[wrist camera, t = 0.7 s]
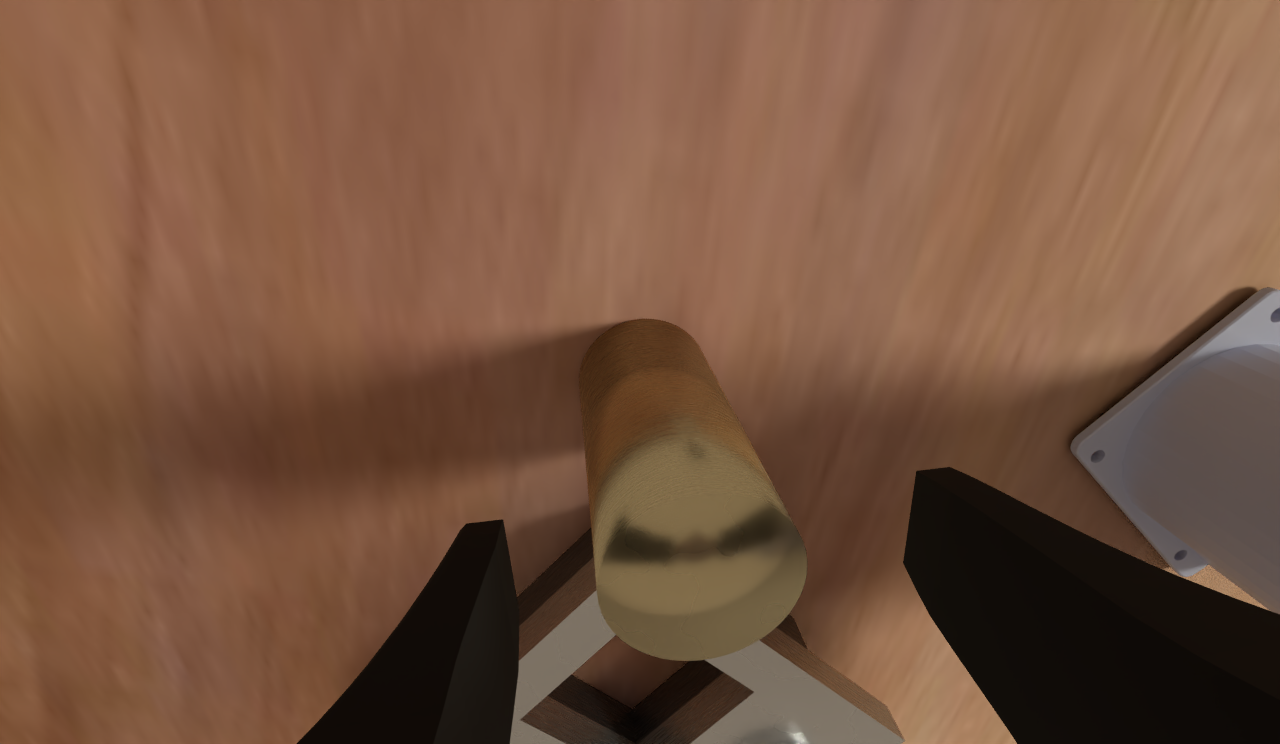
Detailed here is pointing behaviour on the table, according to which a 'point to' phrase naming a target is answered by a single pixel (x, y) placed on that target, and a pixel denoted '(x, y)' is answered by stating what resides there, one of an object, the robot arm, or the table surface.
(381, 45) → the table surface
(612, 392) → the brass pin
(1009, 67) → the table surface
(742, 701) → the grey square hole plate
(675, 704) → the black base board
